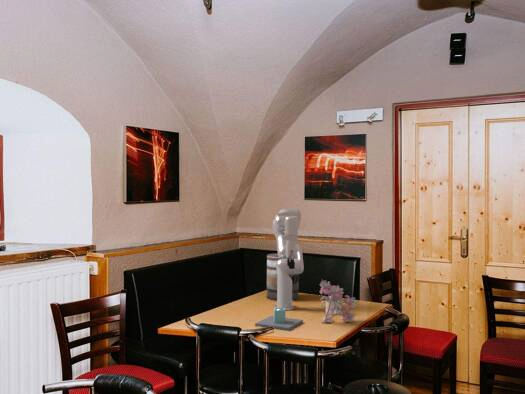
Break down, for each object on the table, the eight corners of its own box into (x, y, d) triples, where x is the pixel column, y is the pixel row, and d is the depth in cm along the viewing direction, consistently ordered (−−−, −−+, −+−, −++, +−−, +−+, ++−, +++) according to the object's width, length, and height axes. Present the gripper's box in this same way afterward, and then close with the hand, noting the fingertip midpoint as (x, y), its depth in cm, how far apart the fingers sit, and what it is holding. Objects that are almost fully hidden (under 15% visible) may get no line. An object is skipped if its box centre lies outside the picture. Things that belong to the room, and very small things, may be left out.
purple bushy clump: (340, 312, 316) (340, 293, 316) (339, 315, 307) (340, 296, 307) (321, 311, 319) (321, 292, 318) (319, 314, 310) (320, 295, 310)
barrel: (300, 301, 347) (300, 257, 347) (267, 301, 347) (267, 257, 347) (297, 294, 370) (297, 253, 369) (266, 294, 369) (266, 253, 369)
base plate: (271, 318, 298) (271, 315, 298) (302, 322, 289) (302, 319, 289) (255, 326, 280) (255, 323, 280) (288, 330, 271) (288, 327, 271)
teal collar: (273, 320, 287) (273, 307, 287) (284, 320, 288) (284, 307, 288) (274, 322, 281) (274, 310, 281) (285, 322, 282) (285, 310, 282)
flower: (344, 327, 272) (357, 283, 280) (307, 317, 284) (320, 275, 292) (355, 336, 288) (367, 294, 296) (319, 326, 300) (331, 286, 308)
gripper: (283, 236, 304) (283, 265, 304) (286, 239, 286) (285, 269, 287) (295, 236, 304) (295, 265, 304) (299, 239, 287) (299, 269, 287)
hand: (290, 267), depth 295 cm, fingers open, 9 cm apart
